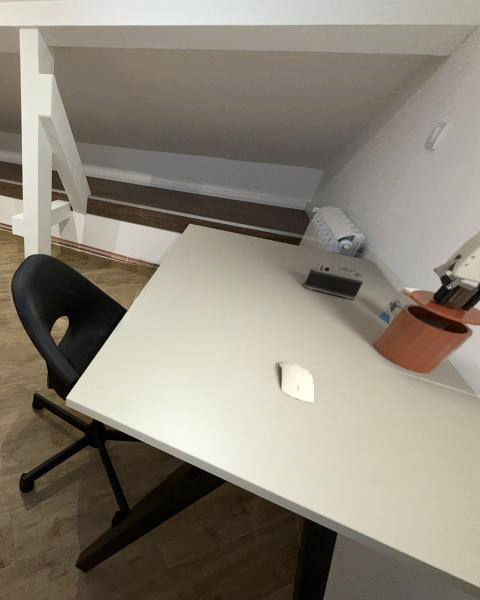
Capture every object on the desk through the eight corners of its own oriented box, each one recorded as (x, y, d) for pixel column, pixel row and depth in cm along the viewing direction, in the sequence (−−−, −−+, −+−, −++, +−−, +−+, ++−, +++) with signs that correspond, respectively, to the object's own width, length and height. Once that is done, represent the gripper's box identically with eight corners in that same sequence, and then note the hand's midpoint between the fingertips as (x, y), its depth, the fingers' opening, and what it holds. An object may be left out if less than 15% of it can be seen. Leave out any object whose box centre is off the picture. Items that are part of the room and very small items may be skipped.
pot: (420, 351, 86) (456, 314, 79) (441, 382, 76) (484, 342, 69) (367, 336, 90) (396, 299, 83) (380, 363, 80) (415, 324, 73)
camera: (345, 295, 113) (358, 269, 110) (355, 301, 105) (370, 273, 102) (297, 283, 118) (308, 258, 114) (304, 288, 110) (316, 261, 107)
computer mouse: (281, 393, 69) (285, 386, 67) (276, 359, 78) (281, 352, 77) (315, 405, 67) (321, 398, 65) (307, 369, 76) (311, 362, 75)
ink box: (377, 317, 99) (401, 286, 93) (392, 318, 100) (417, 287, 93) (399, 334, 92) (427, 302, 86) (415, 336, 92) (445, 304, 86)
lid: (466, 304, 78) (488, 282, 74) (500, 335, 67) (528, 310, 63) (399, 288, 82) (417, 266, 78) (421, 314, 71) (442, 290, 68)
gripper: (559, 236, 64) (486, 308, 74) (455, 217, 69) (400, 287, 79) (589, 248, 58) (505, 325, 68) (473, 227, 63) (412, 301, 73)
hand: (449, 304), depth 74 cm, fingers closed on lid, 4 cm apart
